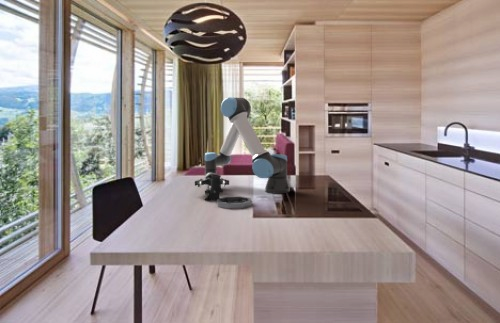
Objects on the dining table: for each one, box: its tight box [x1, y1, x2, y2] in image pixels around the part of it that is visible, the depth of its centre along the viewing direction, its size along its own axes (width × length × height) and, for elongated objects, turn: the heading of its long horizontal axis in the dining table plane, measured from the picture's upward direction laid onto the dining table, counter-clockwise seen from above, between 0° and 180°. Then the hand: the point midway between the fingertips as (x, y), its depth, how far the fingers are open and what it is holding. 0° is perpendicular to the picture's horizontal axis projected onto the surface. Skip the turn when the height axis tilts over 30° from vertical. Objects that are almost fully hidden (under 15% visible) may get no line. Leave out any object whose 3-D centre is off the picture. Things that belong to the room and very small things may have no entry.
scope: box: [203, 174, 224, 202], centre depth 222 cm, size 8×14×10 cm
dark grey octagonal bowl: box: [216, 195, 253, 210], centre depth 210 cm, size 18×18×2 cm
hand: (212, 185), depth 226 cm, fingers open, 13 cm apart
